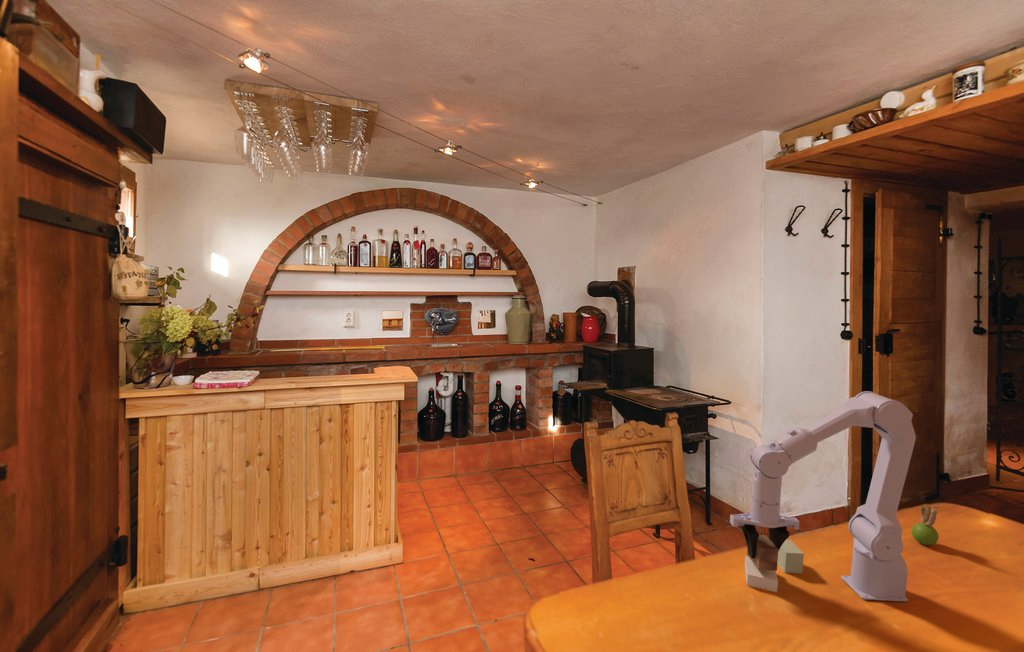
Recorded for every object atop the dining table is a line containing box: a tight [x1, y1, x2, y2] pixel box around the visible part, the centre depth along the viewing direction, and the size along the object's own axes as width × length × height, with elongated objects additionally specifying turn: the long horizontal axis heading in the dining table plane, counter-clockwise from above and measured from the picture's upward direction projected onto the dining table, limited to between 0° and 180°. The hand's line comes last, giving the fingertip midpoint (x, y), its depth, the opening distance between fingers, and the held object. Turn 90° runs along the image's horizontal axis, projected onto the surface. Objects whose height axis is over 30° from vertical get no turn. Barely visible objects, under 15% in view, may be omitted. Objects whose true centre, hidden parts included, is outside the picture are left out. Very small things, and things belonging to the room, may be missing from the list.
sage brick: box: [777, 539, 804, 575], centre depth 116 cm, size 4×6×5 cm, turn 177°
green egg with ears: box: [911, 504, 940, 546], centre depth 127 cm, size 5×6×12 cm
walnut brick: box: [746, 534, 778, 572], centre depth 110 cm, size 4×6×5 cm, turn 177°
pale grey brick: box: [744, 555, 779, 593], centre depth 111 cm, size 6×8×3 cm
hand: (761, 556), depth 110 cm, fingers closed on walnut brick, 4 cm apart
